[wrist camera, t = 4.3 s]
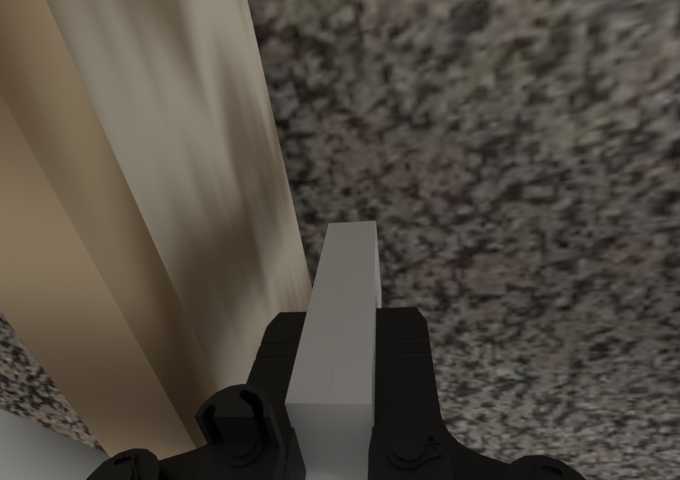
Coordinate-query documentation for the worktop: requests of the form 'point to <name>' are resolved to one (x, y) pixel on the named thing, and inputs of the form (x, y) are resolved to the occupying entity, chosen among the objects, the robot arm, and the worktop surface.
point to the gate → (141, 208)
